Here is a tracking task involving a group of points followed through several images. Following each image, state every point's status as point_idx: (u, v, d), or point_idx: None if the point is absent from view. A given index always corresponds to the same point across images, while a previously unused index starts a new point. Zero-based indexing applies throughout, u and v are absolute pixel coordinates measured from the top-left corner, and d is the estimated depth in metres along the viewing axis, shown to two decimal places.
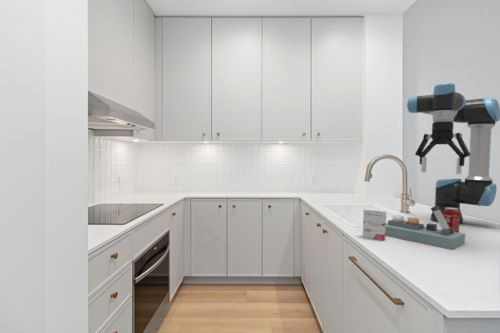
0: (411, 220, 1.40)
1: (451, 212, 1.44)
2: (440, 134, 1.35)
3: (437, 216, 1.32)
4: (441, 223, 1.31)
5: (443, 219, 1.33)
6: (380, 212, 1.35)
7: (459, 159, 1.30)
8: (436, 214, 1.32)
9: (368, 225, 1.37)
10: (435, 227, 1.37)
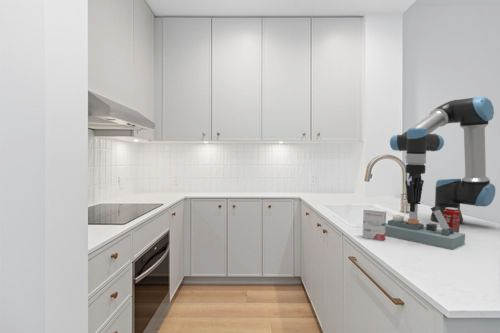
0: (411, 221, 1.40)
1: (451, 212, 1.44)
2: None
3: (437, 216, 1.32)
4: (441, 223, 1.31)
5: (443, 219, 1.33)
6: (380, 212, 1.35)
7: None
8: (436, 214, 1.32)
9: (368, 225, 1.37)
10: (435, 227, 1.37)
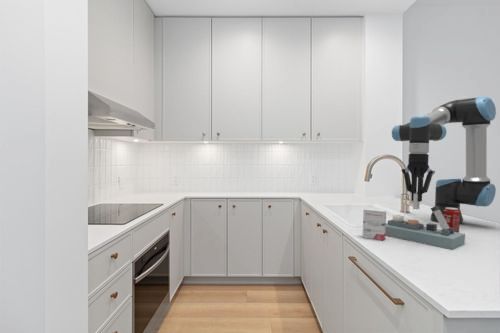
0: (411, 222, 1.40)
1: (451, 212, 1.44)
2: (416, 165, 1.39)
3: (437, 216, 1.32)
4: (441, 223, 1.31)
5: (443, 219, 1.33)
6: (380, 212, 1.35)
7: (417, 195, 1.39)
8: (436, 214, 1.32)
9: (368, 225, 1.37)
10: (435, 227, 1.37)
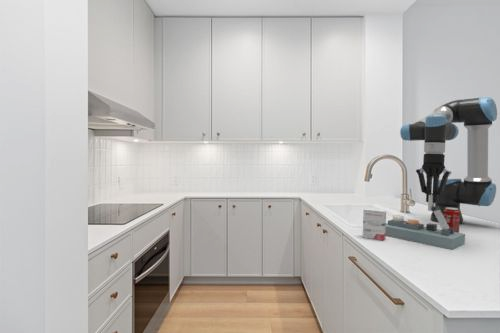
0: (411, 222, 1.40)
1: (451, 212, 1.44)
2: (431, 166, 1.34)
3: (437, 216, 1.32)
4: (441, 223, 1.31)
5: (443, 219, 1.33)
6: (380, 212, 1.35)
7: (432, 196, 1.34)
8: (436, 214, 1.32)
9: (368, 225, 1.37)
10: (435, 227, 1.37)
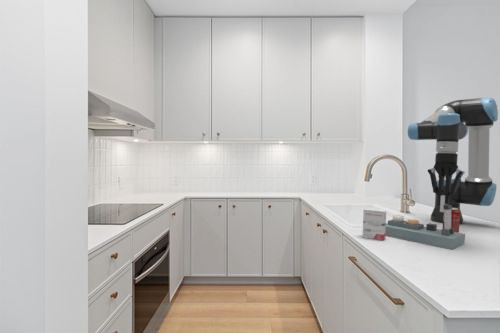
0: (411, 222, 1.40)
1: (451, 212, 1.44)
2: (444, 165, 1.31)
3: (445, 215, 1.30)
4: (446, 223, 1.30)
5: (449, 219, 1.31)
6: (380, 212, 1.35)
7: (444, 197, 1.31)
8: (446, 213, 1.30)
9: (368, 225, 1.37)
10: (435, 227, 1.37)
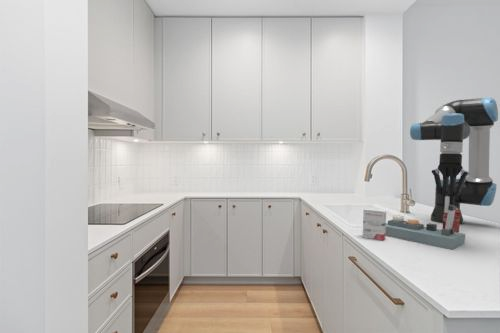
0: (411, 222, 1.40)
1: None
2: (448, 166, 1.30)
3: (449, 216, 1.29)
4: (448, 223, 1.29)
5: (452, 220, 1.30)
6: (380, 212, 1.35)
7: (449, 198, 1.29)
8: (449, 214, 1.29)
9: (368, 225, 1.37)
10: (435, 227, 1.37)
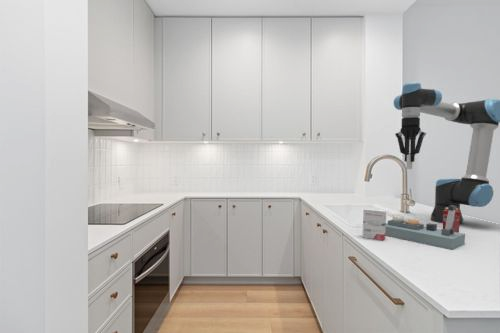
0: (411, 222, 1.40)
1: None
2: (408, 129, 1.50)
3: (449, 216, 1.29)
4: (448, 223, 1.29)
5: (452, 220, 1.30)
6: (380, 212, 1.35)
7: (410, 156, 1.50)
8: (449, 214, 1.29)
9: (368, 225, 1.37)
10: (435, 227, 1.37)
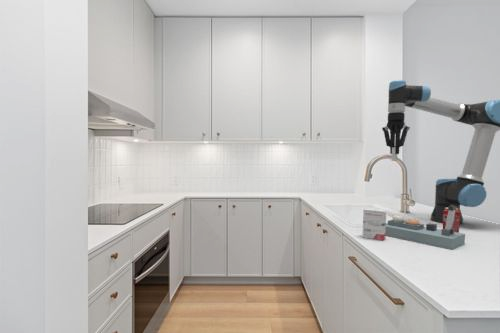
0: (411, 222, 1.40)
1: None
2: (394, 123, 1.61)
3: (449, 216, 1.29)
4: (448, 223, 1.29)
5: (452, 220, 1.30)
6: (380, 212, 1.35)
7: (395, 148, 1.61)
8: (449, 214, 1.29)
9: (368, 225, 1.37)
10: (435, 227, 1.37)
